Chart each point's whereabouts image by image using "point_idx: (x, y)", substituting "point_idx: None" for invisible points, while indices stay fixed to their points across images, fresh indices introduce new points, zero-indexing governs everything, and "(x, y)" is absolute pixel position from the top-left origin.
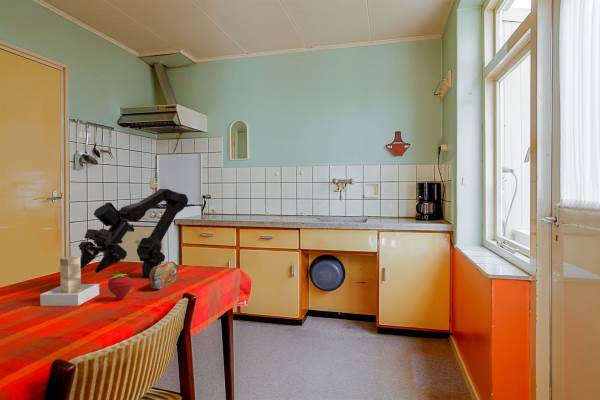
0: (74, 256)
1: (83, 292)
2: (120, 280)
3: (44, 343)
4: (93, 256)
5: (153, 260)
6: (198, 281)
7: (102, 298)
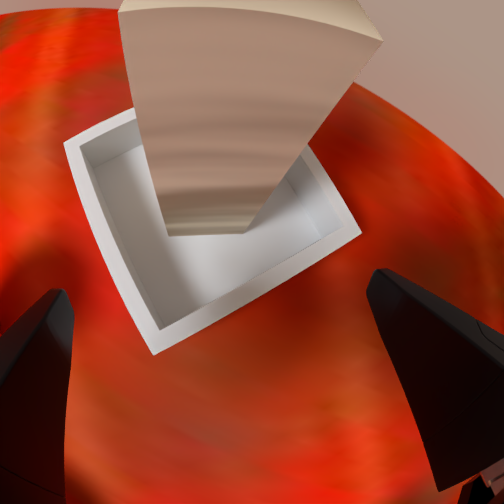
0: (299, 9)
1: (77, 186)
2: None
3: None
4: (455, 474)
5: None
6: None
7: (73, 301)
